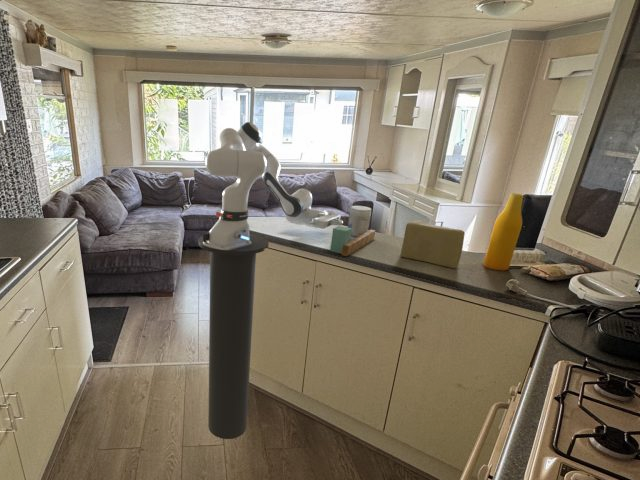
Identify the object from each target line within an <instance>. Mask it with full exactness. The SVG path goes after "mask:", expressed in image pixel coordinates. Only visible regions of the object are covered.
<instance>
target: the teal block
mask: <svg viewBox="0 0 640 480" xmlns="http://www.w3.org/2000/svg"><path fill="white" fill-rule="evenodd" d="M351 230H352V228H348V226H342V225H340V226H339V225H337V226H335V227H334V228H332V235H331V241H330V248H329V251H330V252H332V253H336V254H341V255H342V248H343V245H344V244H346V243H347V242H349V241H351V239H350V237H351Z"/></svg>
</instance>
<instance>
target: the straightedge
mask: <svg viewBox="0 0 640 480" xmlns="http://www.w3.org/2000/svg"><path fill="white" fill-rule="evenodd" d="M375 235H376V230H374V229H368V231H367V232H365V233H363V234H362V235H360V236H358V237H356V238H354V239H353V240H351V239H350V241H349V242H347V243H346V244H344V245H343V248H342V254H341V256H342V257H343V256H344V257H348V256H350V255H351V254H353V253H354V252H357V251H359V250H360V249H361V248H362V247H364V246H366V245H368V244H369V243H370V242H372V241H374V240H375Z"/></svg>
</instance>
